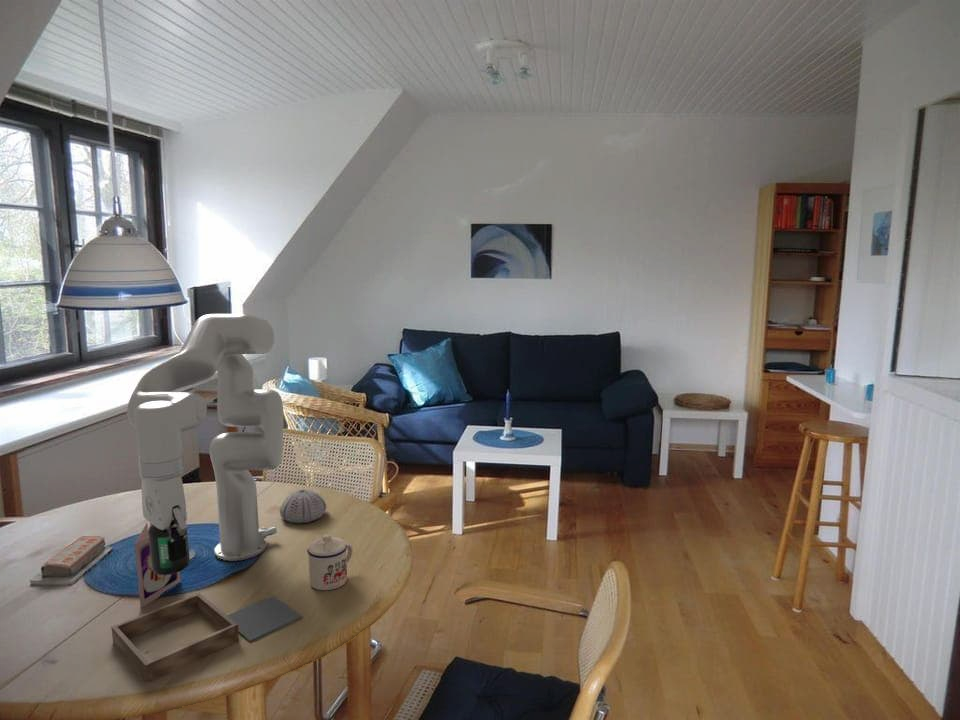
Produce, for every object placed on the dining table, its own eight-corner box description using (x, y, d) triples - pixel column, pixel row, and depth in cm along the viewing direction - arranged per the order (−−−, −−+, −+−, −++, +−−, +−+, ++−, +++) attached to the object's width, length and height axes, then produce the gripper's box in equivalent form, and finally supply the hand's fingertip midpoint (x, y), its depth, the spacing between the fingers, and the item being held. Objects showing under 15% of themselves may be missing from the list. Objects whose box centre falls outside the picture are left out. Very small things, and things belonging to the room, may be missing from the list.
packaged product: (74, 533, 169) (112, 533, 169) (76, 551, 170) (114, 551, 170) (27, 567, 151) (70, 567, 151) (29, 586, 152) (72, 586, 152)
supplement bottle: (172, 578, 124) (166, 519, 122) (143, 572, 126) (137, 514, 124) (197, 561, 130) (192, 505, 128) (170, 555, 132) (165, 500, 130)
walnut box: (200, 607, 143) (199, 592, 142) (239, 640, 131) (238, 624, 130) (113, 642, 130) (111, 626, 129) (147, 682, 118) (145, 665, 117)
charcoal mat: (273, 597, 147) (273, 595, 147) (302, 617, 139) (302, 616, 139) (222, 619, 138) (222, 617, 138) (250, 642, 130) (249, 640, 130)
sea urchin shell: (302, 530, 182) (301, 503, 180) (269, 519, 189) (268, 493, 187) (336, 514, 193) (335, 488, 191) (304, 504, 200) (302, 479, 198)
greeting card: (143, 608, 142) (137, 544, 139) (118, 602, 145) (111, 539, 142) (183, 583, 153) (178, 523, 150) (159, 577, 155) (154, 518, 153)
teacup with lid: (326, 595, 148) (324, 548, 146) (300, 583, 153) (298, 537, 151) (365, 574, 157) (363, 529, 155) (339, 563, 162) (338, 520, 160)
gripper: (123, 460, 127) (132, 544, 131) (159, 483, 116) (168, 575, 119) (163, 450, 132) (171, 531, 136) (201, 472, 121) (208, 560, 124)
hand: (169, 551), depth 127 cm, fingers closed on supplement bottle, 6 cm apart
